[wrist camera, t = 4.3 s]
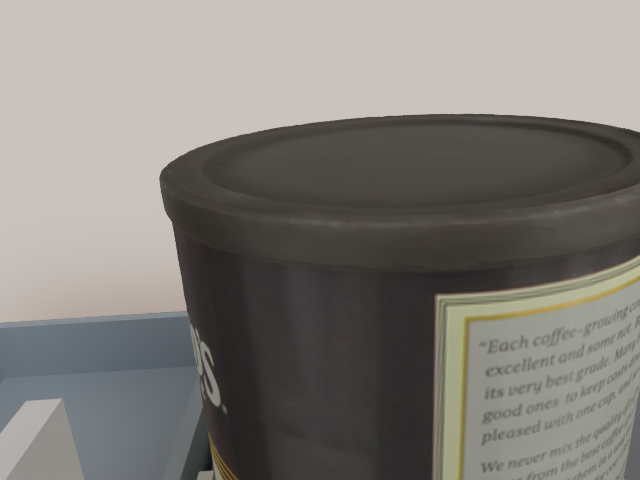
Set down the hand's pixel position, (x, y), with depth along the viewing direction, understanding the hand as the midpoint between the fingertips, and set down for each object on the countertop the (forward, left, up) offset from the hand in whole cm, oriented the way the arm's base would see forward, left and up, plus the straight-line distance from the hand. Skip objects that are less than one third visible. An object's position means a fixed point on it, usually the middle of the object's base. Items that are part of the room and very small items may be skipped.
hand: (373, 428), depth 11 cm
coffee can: (-1, -2, -8) cm, 9 cm away
